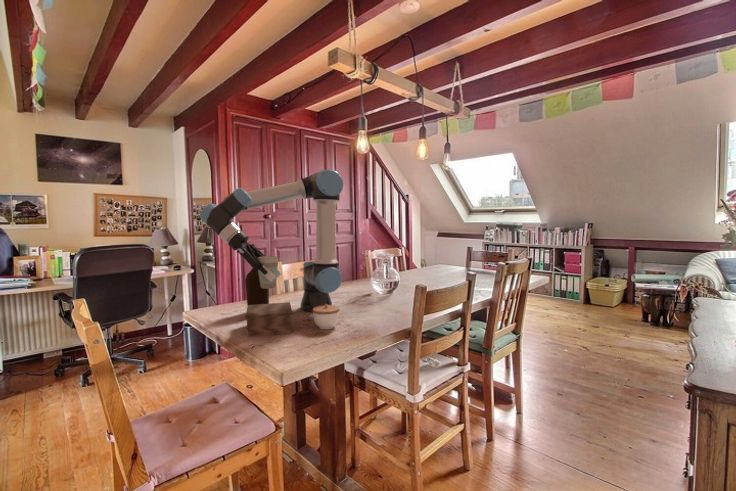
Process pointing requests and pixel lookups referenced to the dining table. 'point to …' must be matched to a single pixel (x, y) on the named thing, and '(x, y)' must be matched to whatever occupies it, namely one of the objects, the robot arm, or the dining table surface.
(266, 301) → the olive oil
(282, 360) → the dining table surface
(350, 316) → the dining table surface
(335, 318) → the lidded jar
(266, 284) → the coffee cup
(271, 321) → the walnut stand
